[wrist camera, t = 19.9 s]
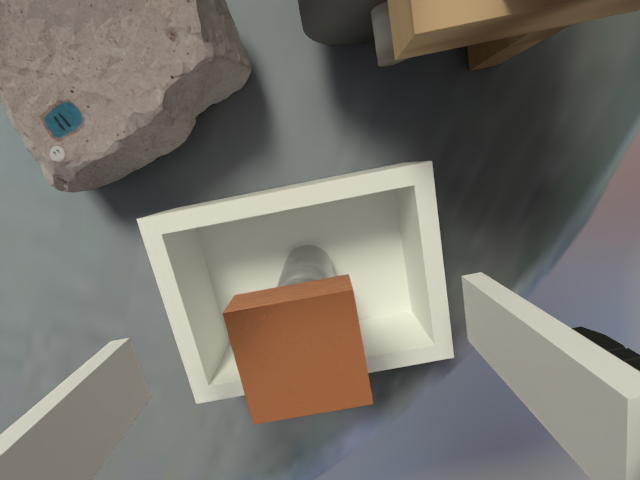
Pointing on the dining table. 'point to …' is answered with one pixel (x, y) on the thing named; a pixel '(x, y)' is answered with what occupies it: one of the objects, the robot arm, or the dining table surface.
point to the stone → (113, 80)
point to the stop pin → (299, 342)
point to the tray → (294, 231)
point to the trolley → (449, 25)
